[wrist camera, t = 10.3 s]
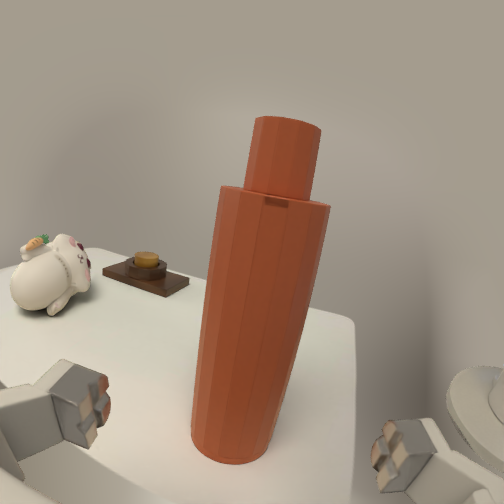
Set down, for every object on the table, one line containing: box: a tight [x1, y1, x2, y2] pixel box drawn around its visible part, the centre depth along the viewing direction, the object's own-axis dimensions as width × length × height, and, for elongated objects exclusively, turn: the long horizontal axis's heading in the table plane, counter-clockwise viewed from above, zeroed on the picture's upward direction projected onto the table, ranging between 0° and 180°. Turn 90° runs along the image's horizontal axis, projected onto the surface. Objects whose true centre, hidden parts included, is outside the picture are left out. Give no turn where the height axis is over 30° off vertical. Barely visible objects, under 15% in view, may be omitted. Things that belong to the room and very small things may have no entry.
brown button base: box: [103, 257, 189, 297], centre depth 50 cm, size 13×8×3 cm, turn 73°
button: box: [134, 252, 159, 267], centre depth 49 cm, size 4×4×2 cm
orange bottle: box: [191, 116, 331, 464], centre depth 19 cm, size 6×6×22 cm
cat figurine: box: [10, 234, 91, 316], centre depth 35 cm, size 10×8×15 cm
